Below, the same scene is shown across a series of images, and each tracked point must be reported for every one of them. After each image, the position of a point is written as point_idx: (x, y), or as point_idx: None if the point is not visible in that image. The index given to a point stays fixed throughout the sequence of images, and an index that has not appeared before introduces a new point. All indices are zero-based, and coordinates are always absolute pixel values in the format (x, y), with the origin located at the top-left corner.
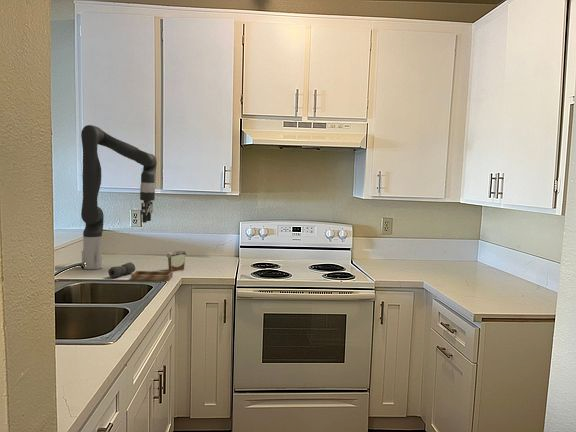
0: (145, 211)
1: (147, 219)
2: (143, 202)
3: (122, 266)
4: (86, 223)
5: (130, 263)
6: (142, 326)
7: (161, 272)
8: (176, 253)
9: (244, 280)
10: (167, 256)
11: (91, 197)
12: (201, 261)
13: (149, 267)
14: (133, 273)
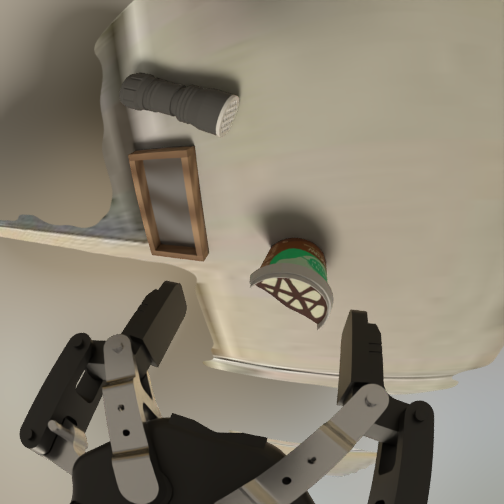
0: (82, 383)
1: (348, 327)
2: (75, 488)
3: (161, 106)
4: None
5: (202, 122)
6: (6, 237)
7: (193, 230)
8: (301, 300)
9: (209, 364)
10: (263, 268)
11: None
12: (443, 317)
13: (361, 163)
14: (146, 153)
